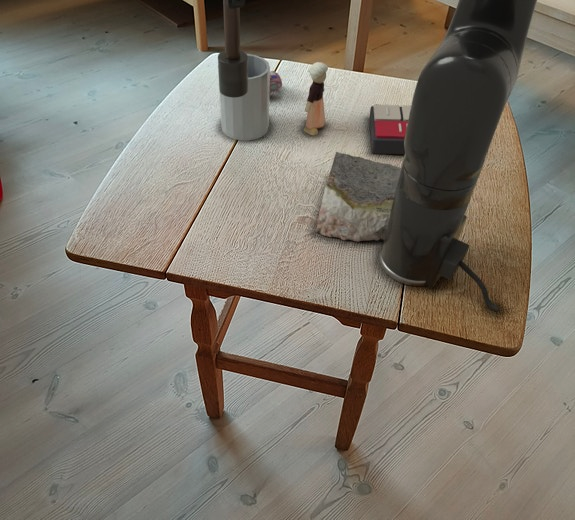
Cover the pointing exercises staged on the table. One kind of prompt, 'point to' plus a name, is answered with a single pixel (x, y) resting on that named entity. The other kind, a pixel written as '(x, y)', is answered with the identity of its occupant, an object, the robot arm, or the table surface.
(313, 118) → the grandmother figurine
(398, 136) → the black red box
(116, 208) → the table surface
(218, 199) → the table surface
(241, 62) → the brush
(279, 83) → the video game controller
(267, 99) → the cup
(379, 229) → the geological specimen
